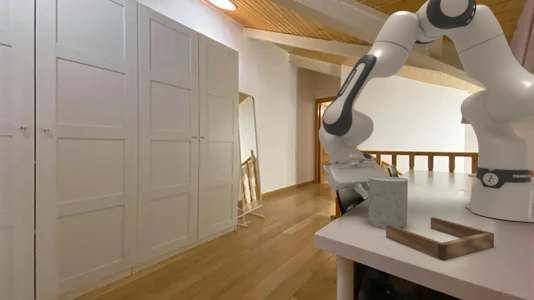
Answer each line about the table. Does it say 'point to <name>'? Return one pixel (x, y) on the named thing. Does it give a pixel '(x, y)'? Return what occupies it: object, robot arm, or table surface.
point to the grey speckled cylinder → (388, 201)
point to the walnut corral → (466, 244)
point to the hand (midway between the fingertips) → (369, 198)
